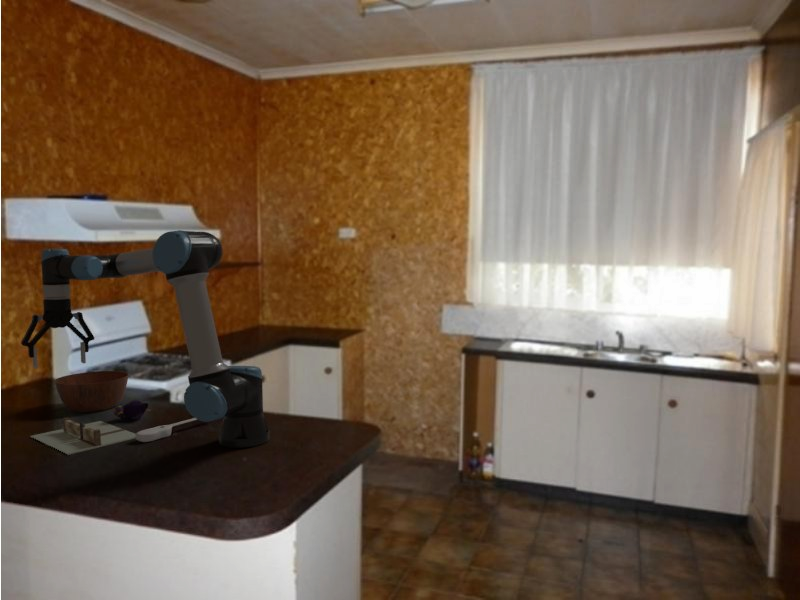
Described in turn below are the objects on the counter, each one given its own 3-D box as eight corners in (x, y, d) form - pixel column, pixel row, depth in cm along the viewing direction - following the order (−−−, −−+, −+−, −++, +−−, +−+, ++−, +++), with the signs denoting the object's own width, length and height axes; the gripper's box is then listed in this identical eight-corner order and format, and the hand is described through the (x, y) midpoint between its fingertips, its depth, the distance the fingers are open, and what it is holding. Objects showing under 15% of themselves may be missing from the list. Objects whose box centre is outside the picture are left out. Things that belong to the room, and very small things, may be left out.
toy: (150, 421, 216) (148, 403, 214) (114, 426, 212) (112, 408, 211) (151, 411, 226) (149, 394, 225) (116, 416, 222) (114, 398, 221)
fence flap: (83, 436, 196) (82, 423, 195) (78, 437, 195) (77, 424, 194) (68, 430, 203) (67, 417, 203) (63, 431, 202) (62, 418, 202)
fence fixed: (101, 446, 188) (100, 428, 188) (96, 447, 187) (95, 429, 187) (84, 439, 195) (83, 422, 195) (79, 440, 194) (78, 423, 194)
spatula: (207, 420, 215) (207, 412, 215) (218, 423, 212) (217, 414, 212) (131, 441, 192) (131, 432, 192) (142, 444, 189) (142, 435, 189)
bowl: (81, 419, 219) (79, 387, 218) (42, 410, 232) (40, 380, 231) (144, 404, 240) (142, 374, 239) (104, 396, 253) (103, 368, 252)
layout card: (141, 437, 197) (141, 435, 197) (67, 455, 180) (67, 453, 180) (100, 422, 215) (100, 420, 215) (30, 437, 198) (30, 435, 198)
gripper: (96, 295, 207) (99, 359, 209) (8, 299, 191) (12, 368, 193) (102, 296, 201) (105, 362, 203) (12, 301, 185) (16, 371, 187)
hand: (59, 365), depth 198 cm, fingers open, 13 cm apart
